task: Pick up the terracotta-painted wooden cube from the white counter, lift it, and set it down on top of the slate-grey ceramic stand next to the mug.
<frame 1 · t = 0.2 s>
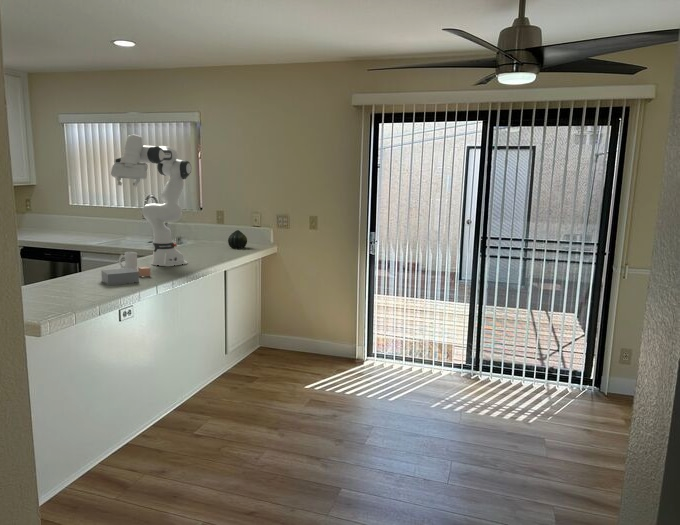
hand: (127, 185, 291), 51 cm above the worktop, tool tilted 20°, fingers open, 8 cm apart
squash: (237, 248, 414), on the worktop
cube: (144, 276, 300), on the worktop
stand: (120, 281, 283), on the worktop
mug: (128, 272, 307), on the worktop
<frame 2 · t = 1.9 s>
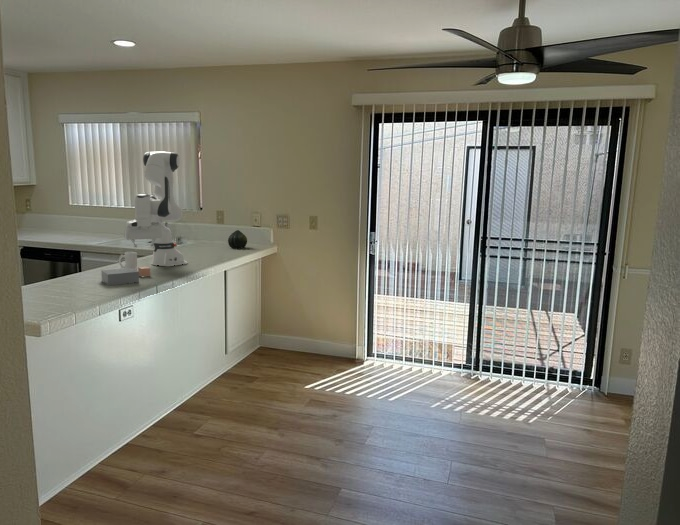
hand: (143, 246, 297), 17 cm above the worktop, tool pointing down, fingers open, 8 cm apart
nothing on the worktop moved.
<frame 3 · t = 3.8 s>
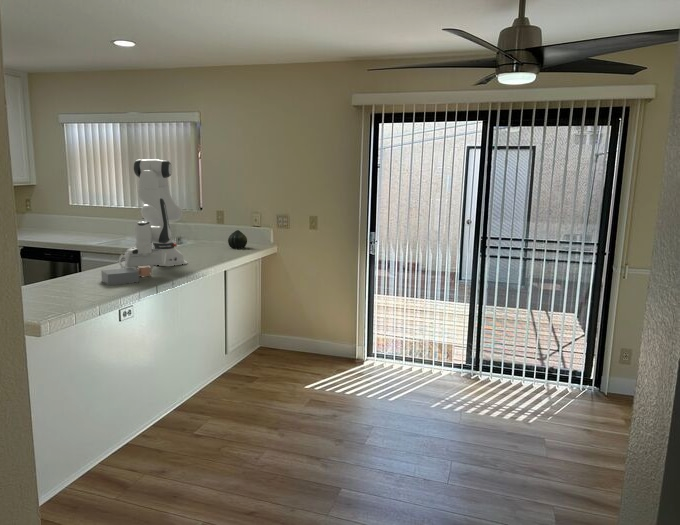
hand: (144, 273, 300), 2 cm above the worktop, tool pointing down, fingers closed on cube, 5 cm apart
cube: (144, 275, 300), on the worktop, touching gripper
everything else where it was.
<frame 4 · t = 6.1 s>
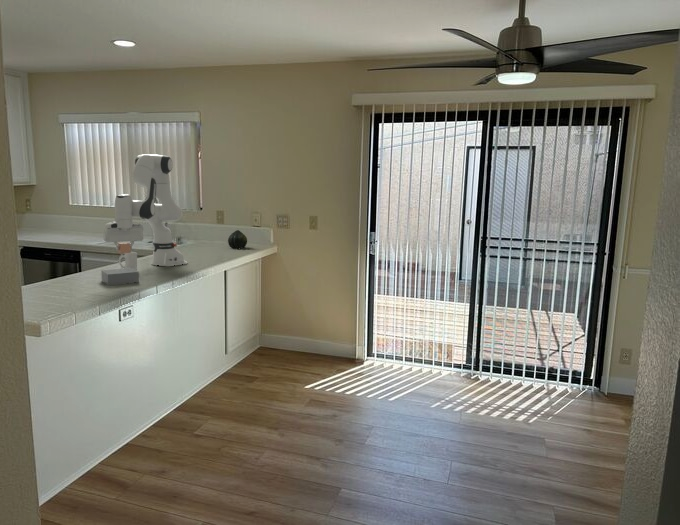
hand: (124, 249, 283), 18 cm above the worktop, tool pointing down, fingers closed on cube, 5 cm apart
cube: (124, 252, 283), point 16 cm above the worktop, touching gripper
everything else where it was.
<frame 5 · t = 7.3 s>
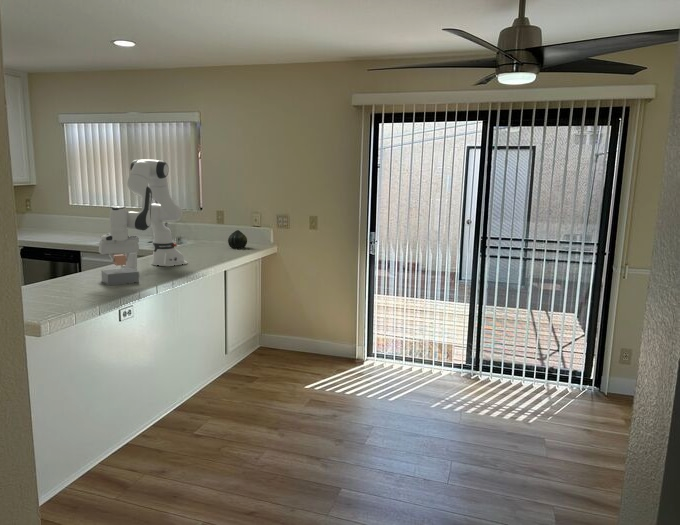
hand: (119, 261, 281), 11 cm above the worktop, tool pointing down, fingers closed on cube, 5 cm apart
cube: (119, 264, 282), point 10 cm above the worktop, touching gripper
everything else where it was.
when the fingers open (9 cm above the worktop, at t = 8.1 s): cube drops 1 cm, resting on stand.
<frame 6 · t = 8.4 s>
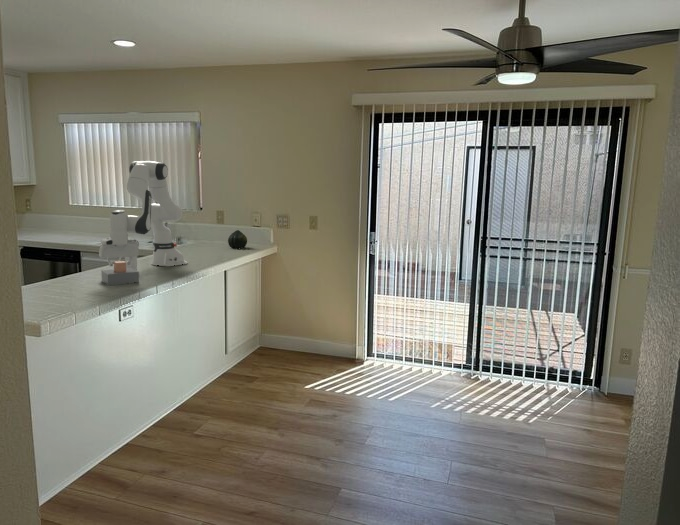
hand: (119, 265, 282), 9 cm above the worktop, tool pointing down, fingers open, 8 cm apart
cube: (120, 271, 282), point 6 cm above the worktop, touching stand
everything else where it was.
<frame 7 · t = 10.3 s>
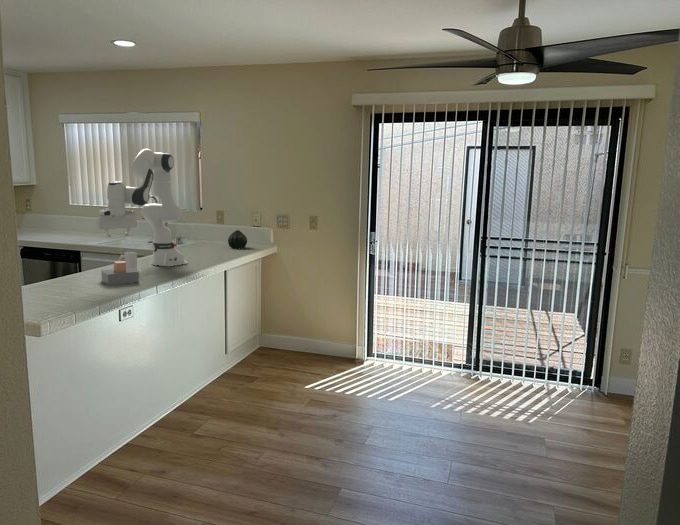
hand: (117, 236, 284), 24 cm above the worktop, tool pointing down, fingers open, 8 cm apart
nothing on the worktop moved.
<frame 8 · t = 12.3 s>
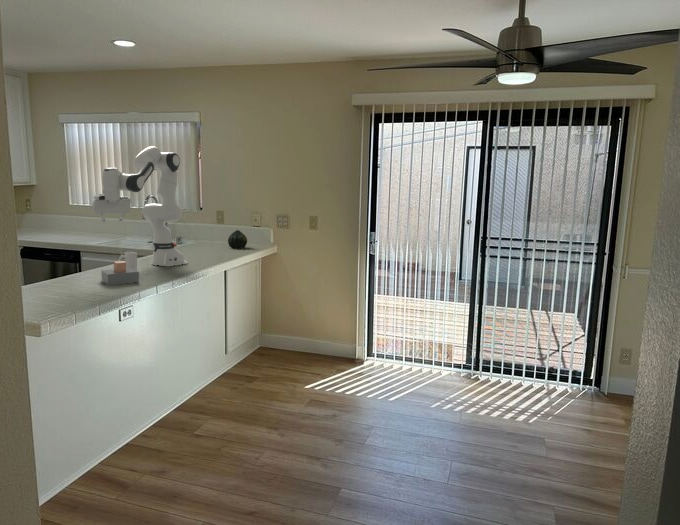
hand: (112, 221, 293), 31 cm above the worktop, tool pointing down, fingers open, 8 cm apart
nothing on the worktop moved.
at the end: cube inside the target area on the stand (0.0 cm from its centre), point 6.0 cm above the stand's base; cube tilted 0°; the gripper is holding nothing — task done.
